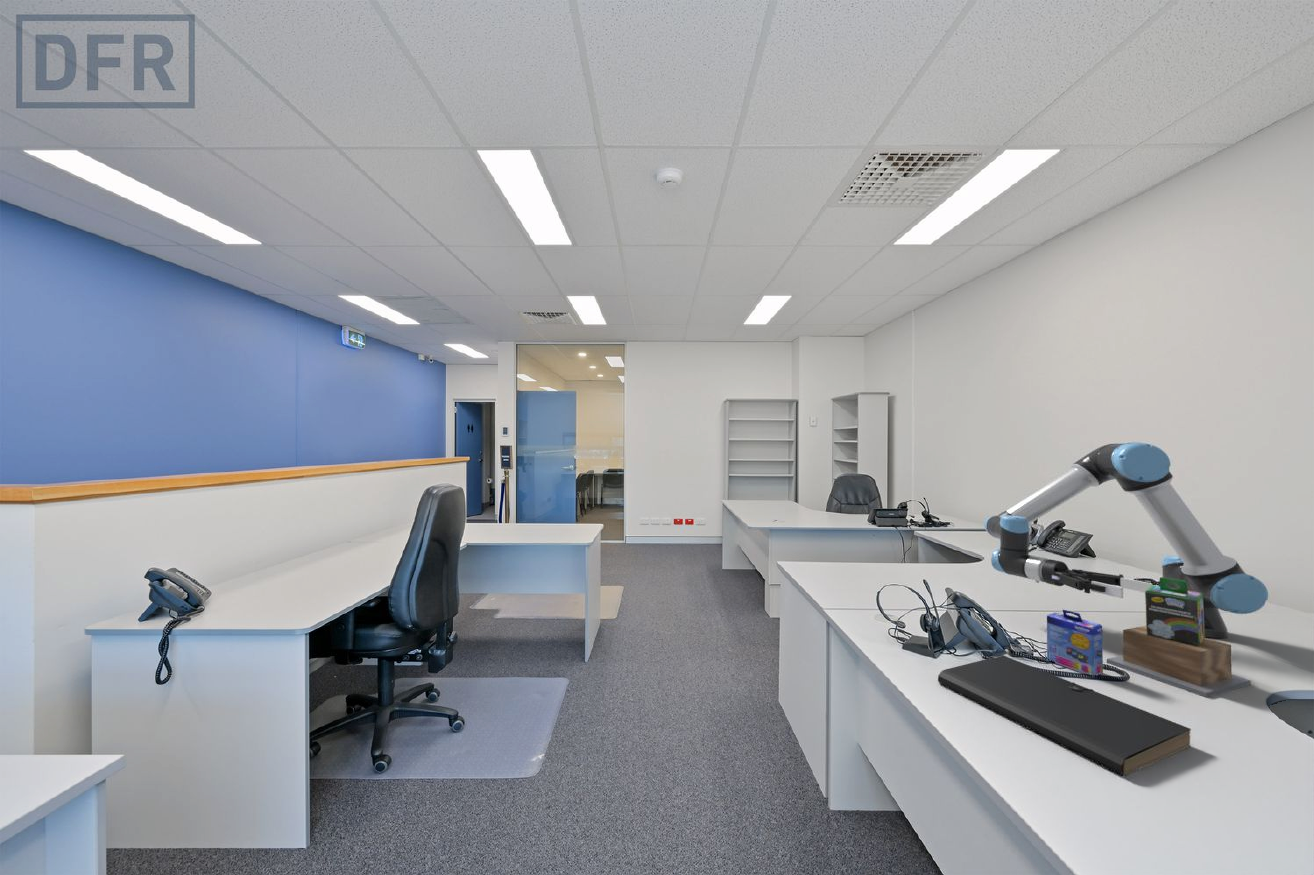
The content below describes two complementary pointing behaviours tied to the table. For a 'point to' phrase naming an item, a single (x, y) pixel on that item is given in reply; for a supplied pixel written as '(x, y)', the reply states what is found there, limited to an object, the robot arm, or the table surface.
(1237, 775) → the table surface
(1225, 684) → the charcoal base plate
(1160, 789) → the table surface
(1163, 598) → the chalk box
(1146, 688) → the table surface
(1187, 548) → the robot arm
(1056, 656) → the ink cartridge box
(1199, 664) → the walnut base brick
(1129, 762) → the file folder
